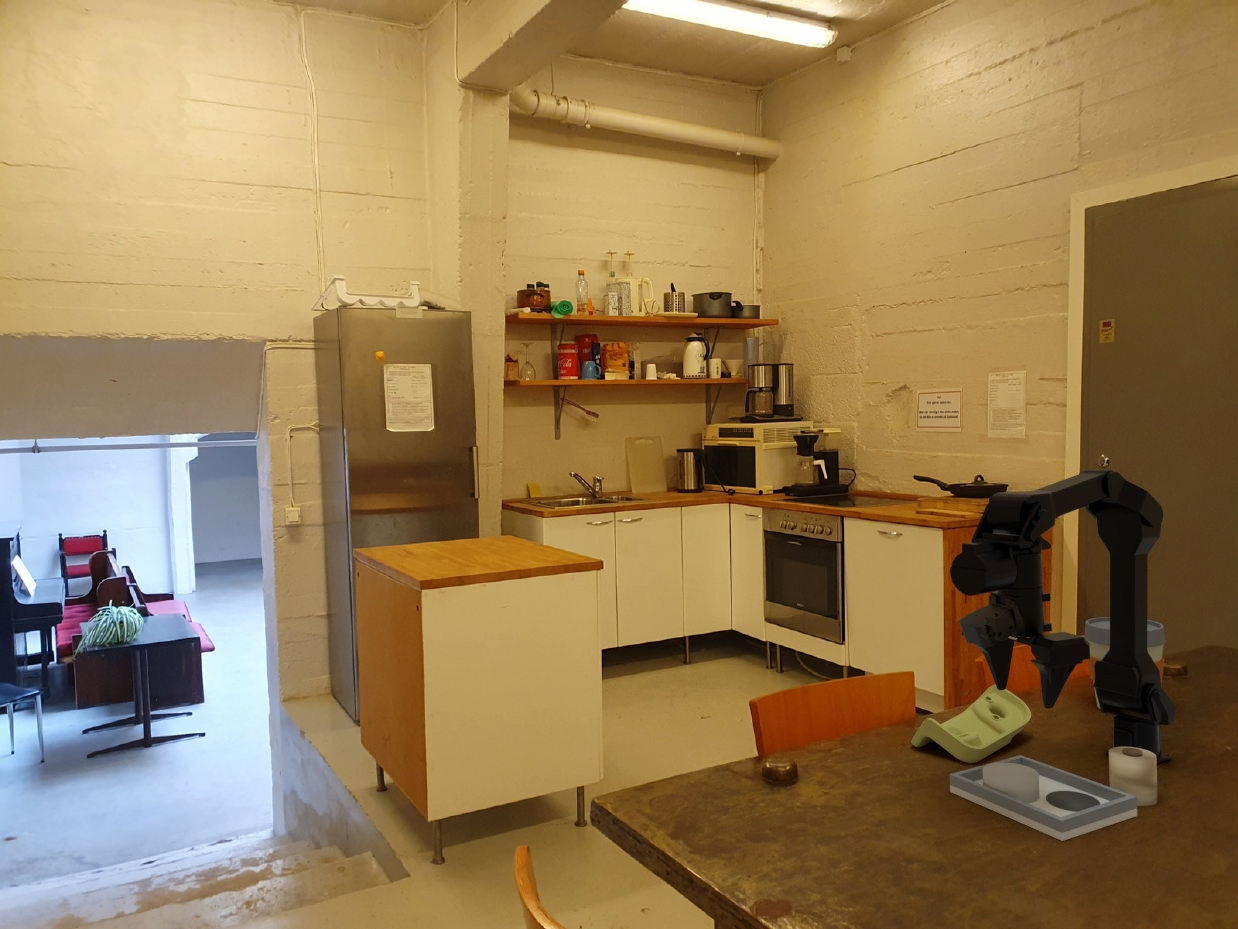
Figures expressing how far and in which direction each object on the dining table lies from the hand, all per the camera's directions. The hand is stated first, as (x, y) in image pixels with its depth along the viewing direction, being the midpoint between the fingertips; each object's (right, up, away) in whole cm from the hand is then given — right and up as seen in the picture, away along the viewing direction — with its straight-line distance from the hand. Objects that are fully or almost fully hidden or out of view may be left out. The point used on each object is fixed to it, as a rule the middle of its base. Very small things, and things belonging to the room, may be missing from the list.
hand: (1024, 698), depth 125 cm
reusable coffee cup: (+34, -11, +36) cm, 51 cm away
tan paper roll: (+14, -13, -1) cm, 19 cm away
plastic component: (+2, -13, +22) cm, 25 cm away
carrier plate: (+1, -14, -2) cm, 14 cm away
